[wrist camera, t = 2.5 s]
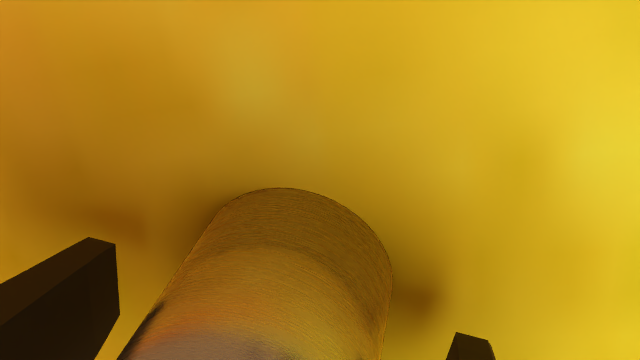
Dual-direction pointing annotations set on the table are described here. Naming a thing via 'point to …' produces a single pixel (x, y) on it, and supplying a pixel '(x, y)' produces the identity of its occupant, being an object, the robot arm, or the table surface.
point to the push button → (274, 286)
